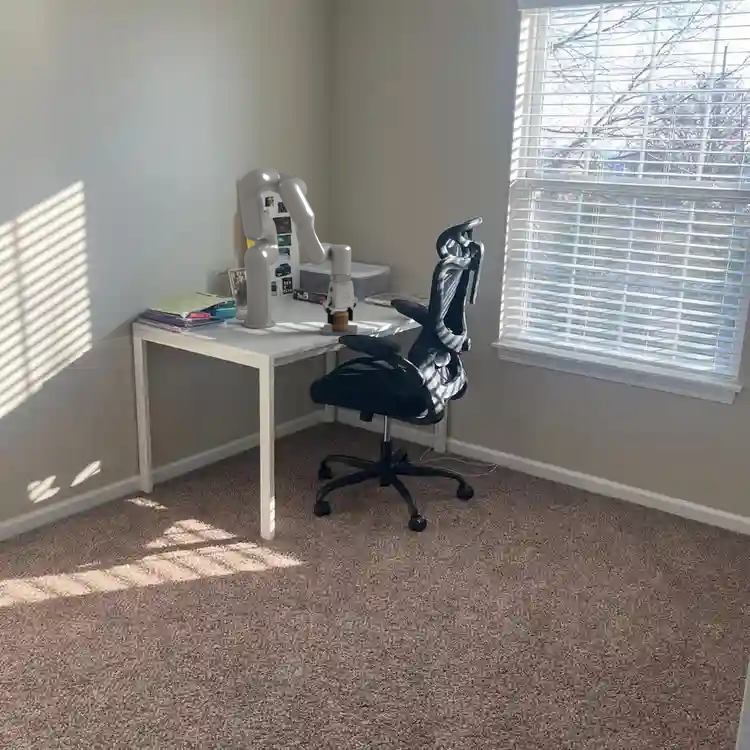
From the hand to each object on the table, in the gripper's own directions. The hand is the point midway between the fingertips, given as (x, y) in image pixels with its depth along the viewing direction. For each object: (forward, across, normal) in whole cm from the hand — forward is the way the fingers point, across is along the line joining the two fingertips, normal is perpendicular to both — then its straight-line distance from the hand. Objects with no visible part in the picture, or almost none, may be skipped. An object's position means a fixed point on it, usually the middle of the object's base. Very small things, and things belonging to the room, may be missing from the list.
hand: (340, 322), depth 316 cm
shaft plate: (+4, 0, 0) cm, 4 cm away
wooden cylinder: (+2, 0, 0) cm, 2 cm away
